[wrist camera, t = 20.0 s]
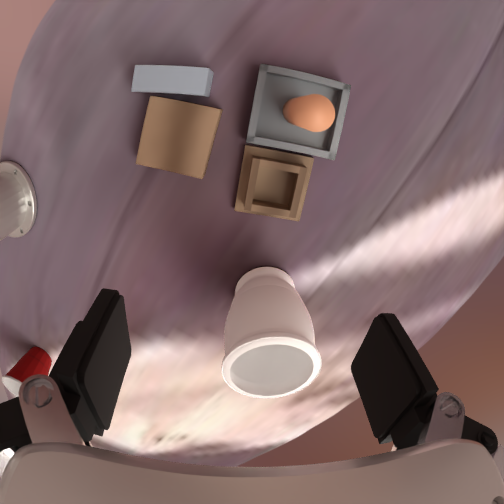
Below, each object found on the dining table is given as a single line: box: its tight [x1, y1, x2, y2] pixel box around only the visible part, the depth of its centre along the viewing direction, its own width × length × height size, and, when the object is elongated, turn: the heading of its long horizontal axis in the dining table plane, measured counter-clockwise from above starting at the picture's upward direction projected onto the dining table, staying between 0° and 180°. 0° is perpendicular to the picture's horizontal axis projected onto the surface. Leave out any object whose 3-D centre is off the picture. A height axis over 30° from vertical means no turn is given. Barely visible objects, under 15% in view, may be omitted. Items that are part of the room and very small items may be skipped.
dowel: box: [283, 94, 335, 132], centre depth 26 cm, size 3×3×10 cm
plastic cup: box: [2, 346, 52, 397], centre depth 45 cm, size 11×11×12 cm
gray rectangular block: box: [131, 65, 213, 97], centre depth 27 cm, size 8×3×4 cm, turn 80°
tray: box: [246, 64, 351, 160], centre depth 30 cm, size 10×9×2 cm
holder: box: [234, 144, 314, 221], centre depth 33 cm, size 8×8×3 cm
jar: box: [222, 267, 322, 399], centre depth 35 cm, size 11×10×15 cm
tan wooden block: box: [136, 96, 223, 179], centre depth 31 cm, size 8×8×3 cm
